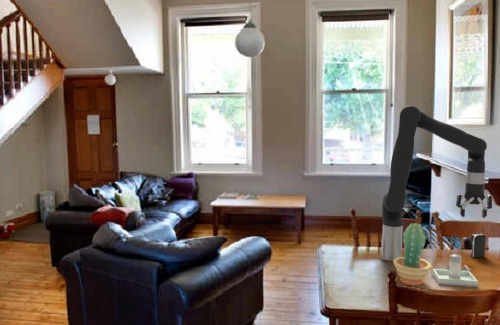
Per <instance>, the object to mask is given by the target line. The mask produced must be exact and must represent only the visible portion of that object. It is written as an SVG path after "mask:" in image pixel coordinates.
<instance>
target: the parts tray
mask: <svg viewBox="0 0 500 325" xmlns="http://www.w3.org/2000/svg"><path fill="white" fill-rule="evenodd" d="M432 276H433V277H434V280H435V282H436V283H437V284H438V285H442V286H443V285H446V286H455V287H456V286H458V287H469V288H470V287H471V288H478V287H479V281H478V280H477V278H476V277H475V276H474V274H472V273H471V272H470V271H461V279H449V269H440V268H432Z"/></svg>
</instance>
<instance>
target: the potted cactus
mask: <svg viewBox="0 0 500 325" xmlns="http://www.w3.org/2000/svg"><path fill="white" fill-rule="evenodd" d="M427 239H428V242H430V240H431V233H430V230H429V229H428V228H427V227H426V226H422V225H421V224H418V223H417V222H414V223H412V222H411V223H410V224H409V225H407V227H406V229H405V230H404V232H403V246H404V253H403V254H404V256H402V257H398V258H396V259H394V260H393V261H392V262H393V266H394V267H395V268H396V273H397V274H398V276H399V277H400V279H399V281H400V282H402V283H404V284H406V285H410V286H419V285H422V284H423V280H424V279H425V278H426V277H427V275H428V273H429V271H431V269H432V264H431V262H429V261H428V260H426V259H423V258H421V255H422V251H423V249H424V247H425V244H426V240H427Z"/></svg>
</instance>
